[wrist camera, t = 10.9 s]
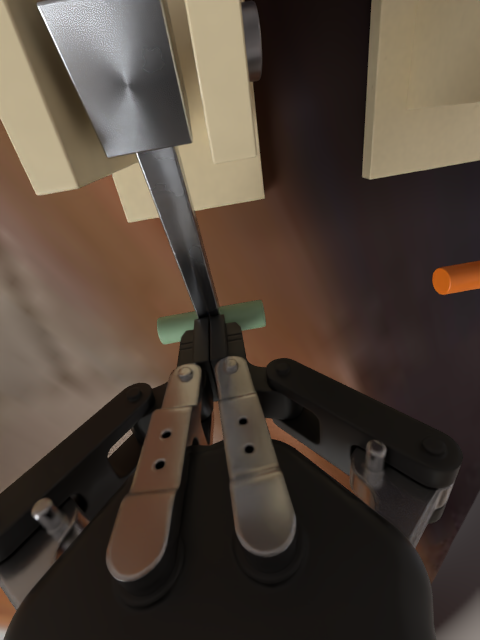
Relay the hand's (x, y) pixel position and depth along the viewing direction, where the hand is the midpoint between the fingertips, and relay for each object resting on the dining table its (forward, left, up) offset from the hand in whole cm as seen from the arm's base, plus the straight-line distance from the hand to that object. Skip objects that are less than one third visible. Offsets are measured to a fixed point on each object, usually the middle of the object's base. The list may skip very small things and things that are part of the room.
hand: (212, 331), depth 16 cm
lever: (-6, 0, 0) cm, 6 cm away
